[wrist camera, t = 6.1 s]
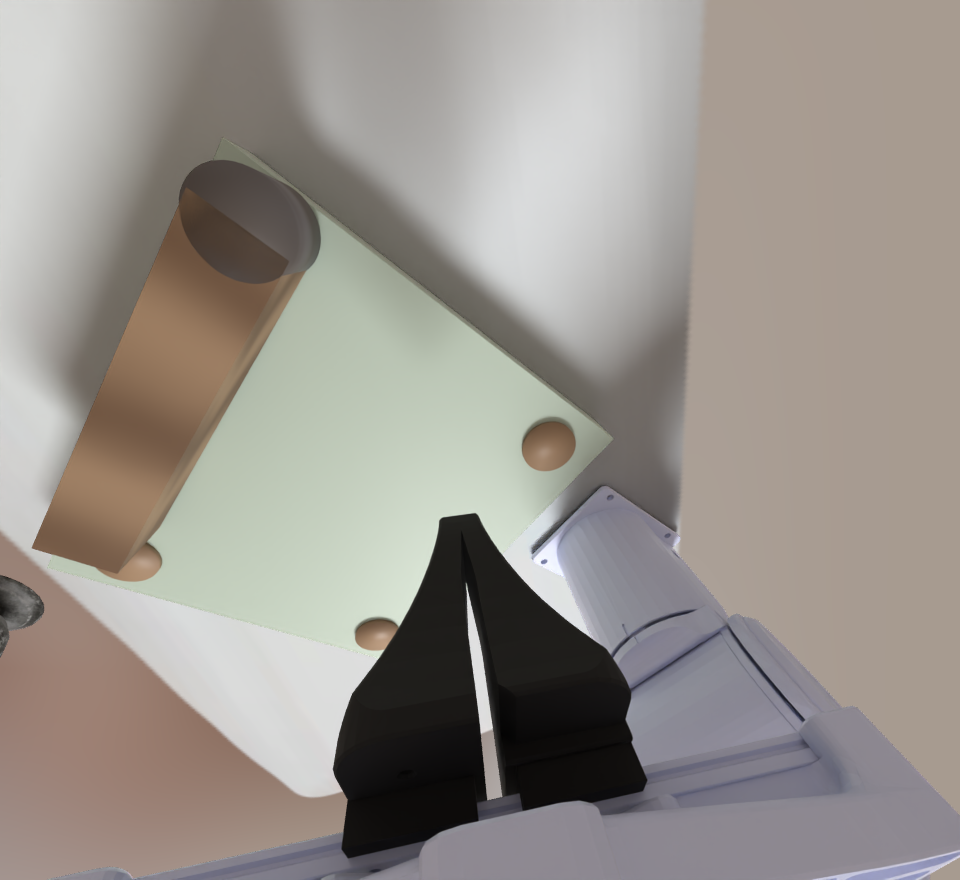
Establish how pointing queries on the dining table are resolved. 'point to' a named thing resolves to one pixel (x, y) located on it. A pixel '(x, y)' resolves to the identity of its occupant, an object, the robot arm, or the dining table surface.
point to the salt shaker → (17, 608)
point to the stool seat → (356, 456)
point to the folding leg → (180, 359)
